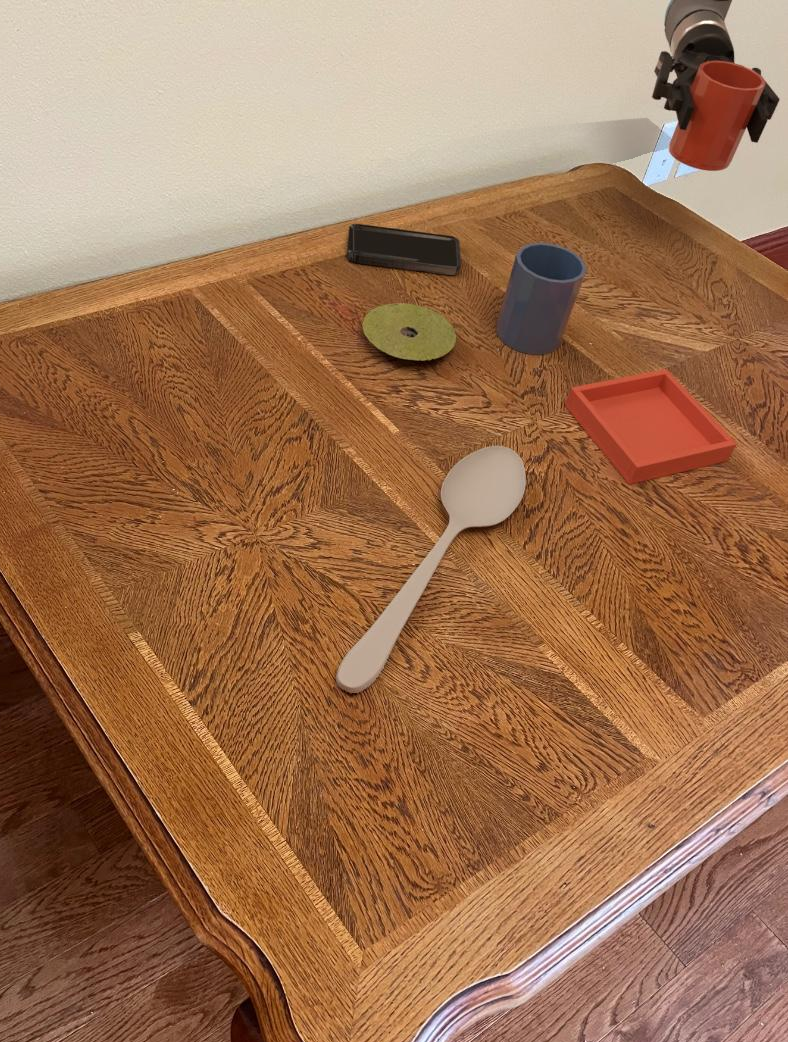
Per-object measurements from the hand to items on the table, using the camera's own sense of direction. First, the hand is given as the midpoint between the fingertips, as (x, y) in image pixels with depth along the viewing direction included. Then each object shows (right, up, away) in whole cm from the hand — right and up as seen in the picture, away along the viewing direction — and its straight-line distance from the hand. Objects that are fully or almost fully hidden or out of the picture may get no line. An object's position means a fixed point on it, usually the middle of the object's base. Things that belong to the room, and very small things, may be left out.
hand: (723, 124), depth 116 cm
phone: (-39, -13, +9) cm, 42 cm away
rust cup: (0, 0, +8) cm, 8 cm away
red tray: (-12, -39, -8) cm, 42 cm away
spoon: (-38, -56, -25) cm, 72 cm away
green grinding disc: (-39, -28, -3) cm, 48 cm away
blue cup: (-24, -26, +1) cm, 35 cm away
